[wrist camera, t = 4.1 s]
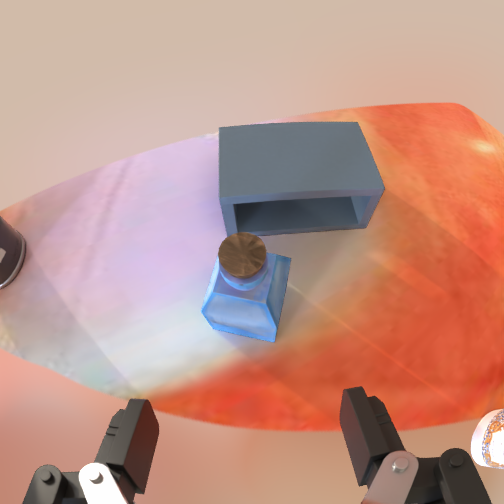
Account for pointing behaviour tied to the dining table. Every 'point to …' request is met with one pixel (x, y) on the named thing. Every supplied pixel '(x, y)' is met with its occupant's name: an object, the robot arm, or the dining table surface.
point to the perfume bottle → (246, 288)
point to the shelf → (296, 178)
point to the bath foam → (489, 440)
